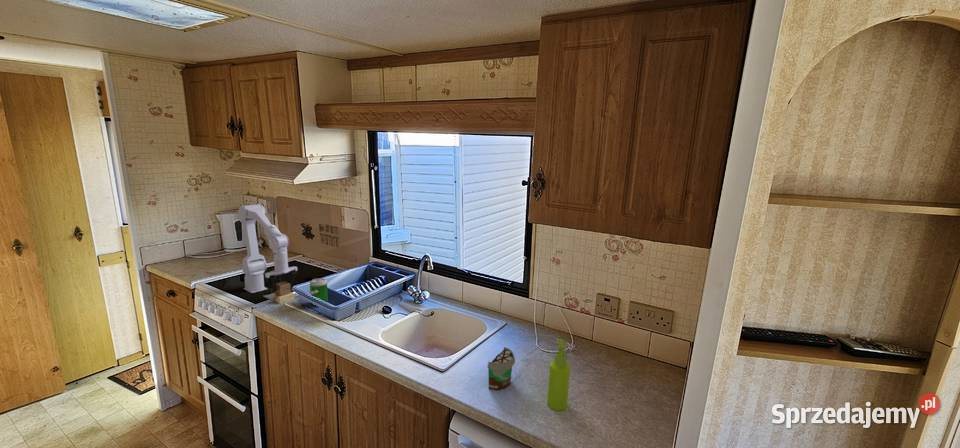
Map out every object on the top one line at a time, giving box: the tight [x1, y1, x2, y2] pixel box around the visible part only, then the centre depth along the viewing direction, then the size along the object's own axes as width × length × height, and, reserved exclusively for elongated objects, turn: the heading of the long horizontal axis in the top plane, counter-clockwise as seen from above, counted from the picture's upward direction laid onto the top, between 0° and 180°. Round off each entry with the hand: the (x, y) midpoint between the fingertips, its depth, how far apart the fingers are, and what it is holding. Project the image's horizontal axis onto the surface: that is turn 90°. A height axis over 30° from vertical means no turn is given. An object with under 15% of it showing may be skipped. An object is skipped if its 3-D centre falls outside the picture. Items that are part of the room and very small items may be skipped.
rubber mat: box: [263, 292, 299, 305], centre depth 196 cm, size 15×11×1 cm
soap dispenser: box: [546, 338, 571, 411], centre depth 121 cm, size 6×7×20 cm
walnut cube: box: [274, 280, 292, 296], centre depth 191 cm, size 5×5×5 cm
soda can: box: [309, 277, 329, 302], centre depth 189 cm, size 8×8×12 cm
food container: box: [487, 346, 516, 391], centre depth 130 cm, size 12×6×10 cm, turn 151°
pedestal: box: [271, 291, 295, 305], centre depth 192 cm, size 7×7×3 cm
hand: (282, 288), depth 191 cm, fingers open, 7 cm apart
